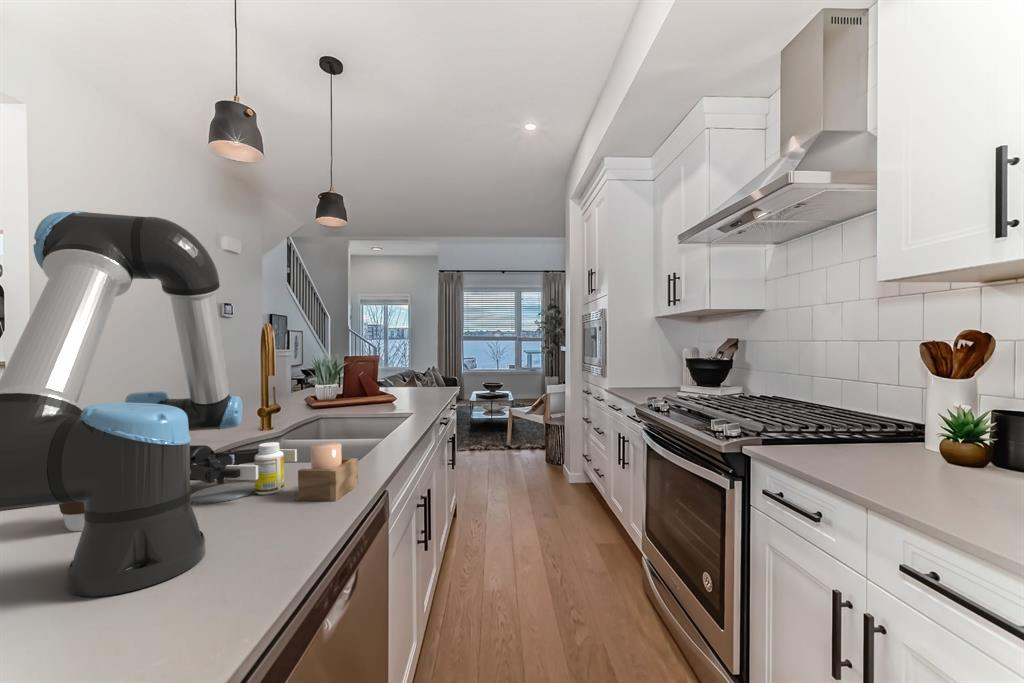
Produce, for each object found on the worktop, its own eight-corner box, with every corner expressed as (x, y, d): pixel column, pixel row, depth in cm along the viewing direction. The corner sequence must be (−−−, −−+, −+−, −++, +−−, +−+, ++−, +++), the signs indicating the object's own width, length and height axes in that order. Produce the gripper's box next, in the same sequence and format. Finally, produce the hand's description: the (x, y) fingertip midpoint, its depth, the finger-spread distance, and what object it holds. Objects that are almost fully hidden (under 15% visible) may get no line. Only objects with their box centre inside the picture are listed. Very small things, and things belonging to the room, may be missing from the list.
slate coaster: (230, 504, 90) (230, 501, 90) (174, 503, 91) (174, 500, 91) (268, 485, 102) (268, 482, 102) (219, 484, 103) (219, 482, 103)
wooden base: (336, 500, 91) (335, 471, 91) (293, 500, 92) (293, 470, 92) (358, 485, 101) (357, 458, 101) (319, 484, 101) (319, 457, 101)
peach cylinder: (333, 497, 93) (332, 448, 93) (305, 497, 93) (305, 448, 93) (347, 488, 99) (346, 442, 99) (321, 487, 99) (320, 442, 99)
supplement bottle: (273, 485, 101) (272, 440, 101) (290, 489, 99) (289, 442, 99) (249, 493, 96) (248, 445, 96) (265, 497, 94) (264, 448, 94)
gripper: (228, 464, 112) (309, 465, 110) (135, 499, 87) (237, 501, 85) (228, 434, 112) (309, 434, 110) (134, 460, 87) (236, 461, 85)
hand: (278, 463), depth 98 cm, fingers open, 13 cm apart
